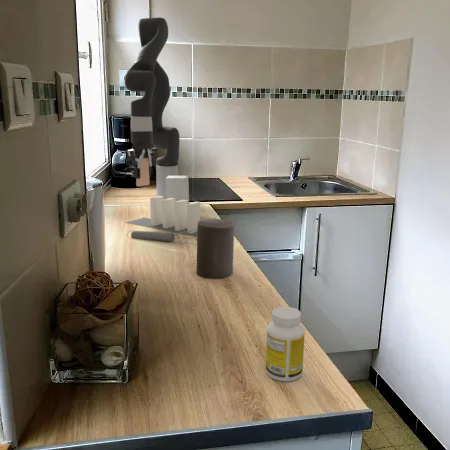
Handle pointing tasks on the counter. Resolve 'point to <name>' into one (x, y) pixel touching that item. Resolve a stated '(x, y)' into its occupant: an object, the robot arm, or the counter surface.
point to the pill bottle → (285, 345)
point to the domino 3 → (168, 212)
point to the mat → (158, 226)
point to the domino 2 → (156, 210)
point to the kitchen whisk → (157, 235)
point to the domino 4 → (181, 215)
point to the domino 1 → (143, 173)
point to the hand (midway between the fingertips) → (142, 177)
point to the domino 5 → (193, 216)
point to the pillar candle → (215, 248)
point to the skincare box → (177, 188)
